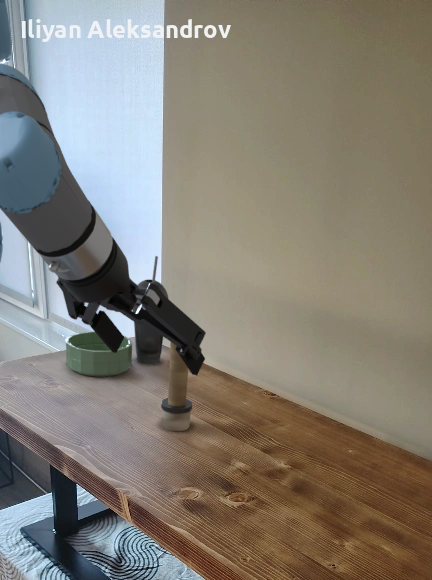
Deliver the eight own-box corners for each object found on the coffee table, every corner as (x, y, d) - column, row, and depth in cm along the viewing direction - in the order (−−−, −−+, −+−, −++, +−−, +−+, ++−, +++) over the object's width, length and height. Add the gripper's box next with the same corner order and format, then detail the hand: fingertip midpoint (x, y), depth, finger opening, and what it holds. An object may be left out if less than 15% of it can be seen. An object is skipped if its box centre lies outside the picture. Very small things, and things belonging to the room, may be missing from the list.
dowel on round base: (156, 429, 97) (160, 333, 89) (164, 417, 101) (168, 325, 93) (187, 433, 96) (193, 338, 89) (193, 421, 100) (200, 329, 93)
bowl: (56, 372, 114) (55, 346, 112) (81, 353, 124) (80, 328, 122) (119, 381, 113) (119, 355, 110) (139, 361, 123) (139, 336, 121)
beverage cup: (144, 352, 128) (147, 249, 118) (174, 360, 125) (178, 256, 115) (122, 360, 123) (122, 254, 113) (152, 369, 120) (155, 260, 110)
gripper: (-15, 264, 73) (76, 357, 92) (163, 305, 63) (224, 401, 82) (16, 212, 74) (98, 315, 93) (194, 244, 64) (246, 352, 83)
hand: (157, 355), depth 87 cm, fingers open, 13 cm apart
